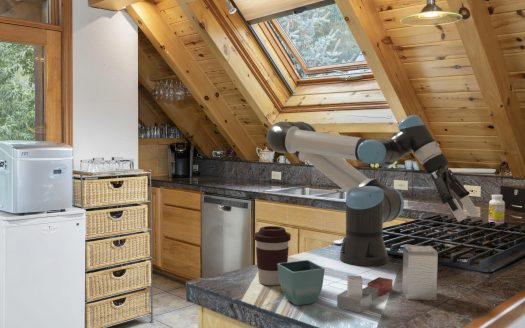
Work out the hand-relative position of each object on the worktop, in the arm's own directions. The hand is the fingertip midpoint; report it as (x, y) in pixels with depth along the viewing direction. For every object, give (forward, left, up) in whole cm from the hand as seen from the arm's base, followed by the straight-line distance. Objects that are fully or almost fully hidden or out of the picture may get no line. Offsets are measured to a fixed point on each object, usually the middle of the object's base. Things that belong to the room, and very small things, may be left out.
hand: (469, 217), depth 159 cm
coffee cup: (-38, -51, -16) cm, 65 cm away
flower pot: (-23, -60, -16) cm, 66 cm away
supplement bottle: (-12, +90, -16) cm, 93 cm away
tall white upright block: (-2, -37, -15) cm, 40 cm away
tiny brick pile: (-11, -47, -15) cm, 51 cm away
